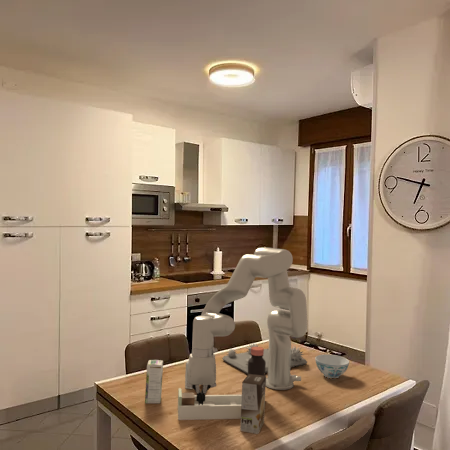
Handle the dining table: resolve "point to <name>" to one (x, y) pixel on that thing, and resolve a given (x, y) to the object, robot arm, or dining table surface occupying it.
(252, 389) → the coffee box
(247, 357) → the decorative tray
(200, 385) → the small box
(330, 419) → the dining table surface
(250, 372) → the bottle
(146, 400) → the syrup box
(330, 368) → the chinaware
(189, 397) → the walnut block
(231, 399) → the tray
